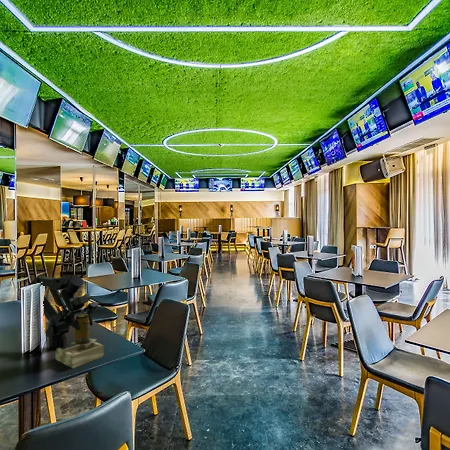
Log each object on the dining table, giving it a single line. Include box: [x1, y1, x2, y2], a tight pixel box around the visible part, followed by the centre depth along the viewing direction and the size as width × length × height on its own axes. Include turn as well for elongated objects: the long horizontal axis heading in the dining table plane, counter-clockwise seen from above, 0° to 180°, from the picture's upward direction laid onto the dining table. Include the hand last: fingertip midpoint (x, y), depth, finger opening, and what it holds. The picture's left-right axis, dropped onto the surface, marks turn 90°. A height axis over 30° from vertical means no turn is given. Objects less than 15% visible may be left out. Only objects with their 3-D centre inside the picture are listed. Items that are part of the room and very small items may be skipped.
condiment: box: [70, 313, 98, 345], centre depth 138 cm, size 7×8×12 cm
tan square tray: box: [54, 341, 105, 369], centre depth 136 cm, size 15×14×5 cm
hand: (85, 327), depth 137 cm, fingers closed on condiment, 6 cm apart
